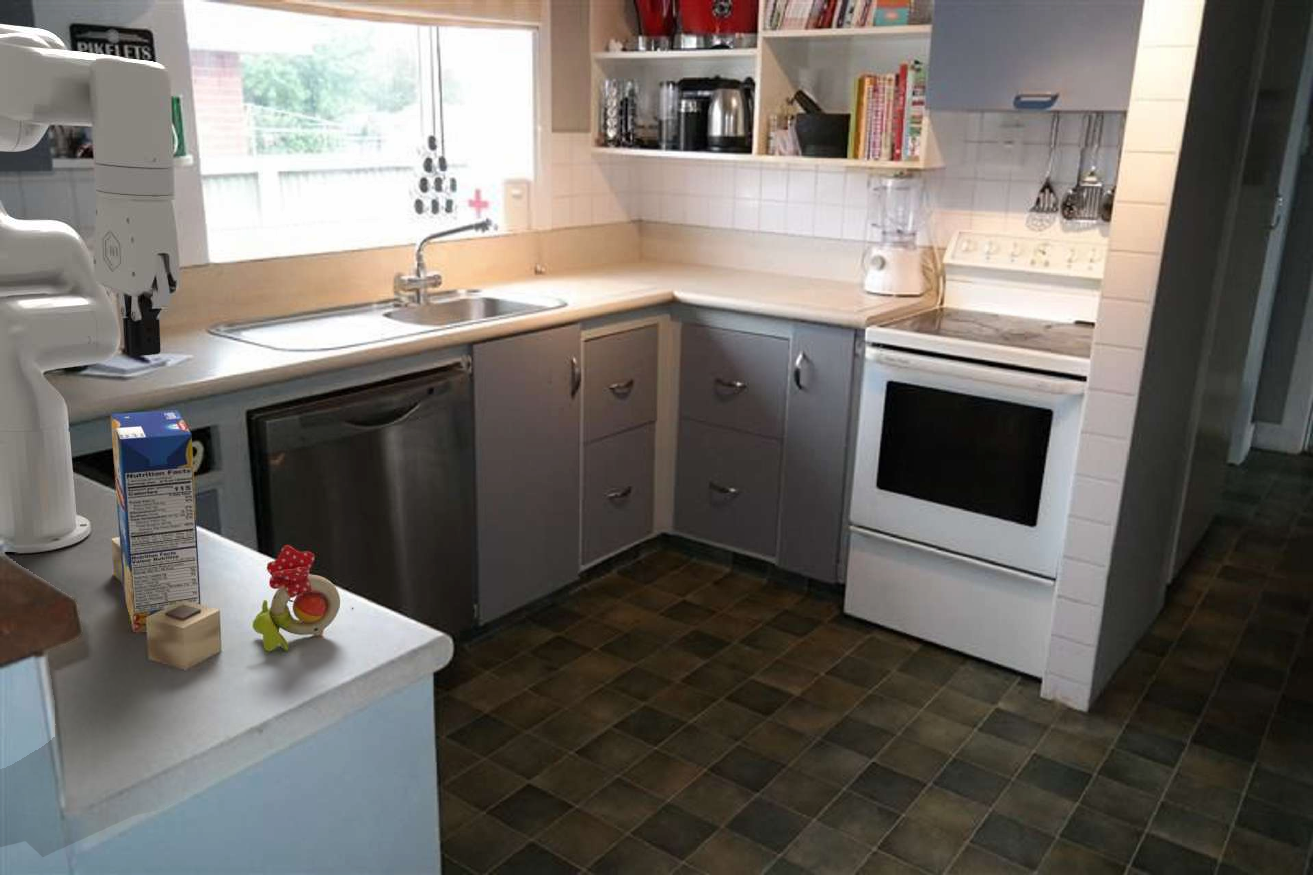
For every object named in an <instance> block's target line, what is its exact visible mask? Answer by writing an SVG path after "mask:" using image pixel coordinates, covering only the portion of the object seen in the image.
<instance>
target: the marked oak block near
mask: <svg viewBox="0 0 1313 875" xmlns="http://www.w3.org/2000/svg"><path fill="white" fill-rule="evenodd" d="M146 627H147V631H146V637H147V639H146V640H147V641H146V642H147V655H148V660H151V661H154V660H155V661H154V662H157V661H158V663H160V662H162V663H161V664H164V663H166V664H165V665H167V666H170V665H171V667H174V666H175V668H177V667H179V668H178V669H180V668H181V670H183V669H187V670H189V669H190V668H192V667H194V666H196V665H197V663H198V662H200V661H201V662H203V661H205V660H207V659H209V658H210V656H211V657H212V655H213V654H214V655H216V654H218V653H220V652H222V632H221V631H222V630H221V628H222V627H221V611H220V609H218V608H214V607H211V606H207V605H203V604H201V605H200V604H196V603H192V602H189V601H185V600H182V601H180V602H178V603H176V604H174V605H172V606H169V607H167V608H165V609H163V610H161V611H159V612H156V613H154V614H152V615H150V616H148V617H146ZM214 655H213V656H214ZM208 657H209V658H208ZM206 658H207V659H206ZM201 662H200V663H201ZM198 664H199V663H198ZM193 665H194V666H193Z"/></svg>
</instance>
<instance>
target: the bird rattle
mask: <svg viewBox="0 0 1313 875" xmlns="http://www.w3.org/2000/svg"><path fill="white" fill-rule="evenodd" d="M315 557H316V556H315V554H314V553H313V552H311V551H299V550H297V549H295V548H294V547H292V546H291V545H289V544H286V545H284V547H282V549H281V551H280V553H279V555H278V557H277V559H275V560H272V561H270V562H268V563H267V566H266V571H267V573H268V574H269V575H270V578H269V582H268V584H269V587H270V588H271V589H274V590H276V591H275V593H274V595H273V598H272V600H271V604H270V608H268V601H267V599H264V600H263V603H262V604H261V605H262V606H261V609H262V610H261V611H260V612H259V613H258V614H257V615H256V617H254V618H255V619H254V620H253V621H252V628H253V630H254V631H255V632H256V633H258V634H261V635H262V642H263V647H264V649H265V650H266V651H268V652H270V651H271V652H272V651H273V650H275V649H276V648H277V647H278V645H279V646H280V647H281V648H282V649H283V650H284V651H286V652H288V651H289V649H290V645H289V643H288V642H287V640H286V639H285V637H284V636H283V635H282V634H281V633H280V629H281V630H283V631H285V632H288V633H290V634H293V635H300V636H306V635H307V636H308V635H311V636H315V637H321V636H322V635H323V634H324V630H325V629H326V628H327V627H329V626H330V625H331V624H332V623H333V621H334V620H335V618H336V617H337V615H338V613H339V610H340V607H341V599H340V598H341V597H340V594H339V591H338V589H337V587H336V586H335V585H334V584H333V583H332V582H331V580H329V579H327V578H326V577H323V576H321V575H318V574H317V575H316V574H310V572H311V569H312V567H313V563H314V561H315ZM293 598H295V599H294V600H292V599H293ZM289 602H291V603H292V612H293V614H294V616H295V618H294V617H293V615H292V614H291V611H290V608H289V606H288V605H287V604H288V603H289Z"/></svg>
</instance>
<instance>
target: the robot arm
mask: <svg viewBox="0 0 1313 875" xmlns="http://www.w3.org/2000/svg"><path fill="white" fill-rule="evenodd" d="M51 125H52V126H69V127H70V126H74V127H76V126H77V127H90V128H91V130H92V131H91V132H92V154H93V169H94V170H93V171H94V173H93V176H94V187H95V188H94V189H95V192H94V193H95V201H94V210H93V211H94V212H93V223H92V224H93V227H92V228H93V229H92V230H93V231H92V233H93V234H92V235H93V237H92V240H93V241H92V243H93V244H92V250H93V254H92V255H93V257H92V256H91V253H90V251H89V249H88V248H87V244H86V242H85V241H84V240H83V238H82V237H81V235H80V234H79V233H78V232H77V231H76V230H75V229H74V228H73V227H71V226H70V225H69V224H67V223H64V222H62V221H59V220H55V219H54V220H51V219H16V218H14V217H11V216H10V215H9V213H7V211H6V209H5V206H4V205H3V203H2V200H1V199H0V535H3V536H4V537H5V539H7V540H8V541H10V542H11V543H13V545H14V546H15V551H16V552H17V553H16V554H34V553H42V552H48V551H54V550H58V549H62V548H66V547H68V546H72V545H75V544H77V543H79V542H81V541H83V540H85V539H86V537H88V536H89V535H90V533H91V531H92V530H91V529H92V528H91V527H92V526H91V522H90V521H89V519H87V518H86V517H84V516H82V515H79V514H77V508H76V496H75V495H76V494H75V483H74V470H73V460H72V459H73V458H72V448H71V446H72V445H71V435H70V434H71V433H70V425H69V424H70V423H69V414H68V406H67V403H66V400H65V399H64V397H63V396H62V394H61V393H60V392H59V391H58V390H57V389H56V387H55V386H54V385H52V384H51V383H50V382H49V380H47V379H46V378H45V376H44V373H45V372H48V371H55V370H57V369H65V368H73V367H82V366H87V365H88V366H89V365H94V364H99V363H100V364H101V363H103V362H105V361H108V360H110V359H112V358H113V357H114V356H115V355H116V354H117V352H118V351H119V348H120V344H121V329H120V323H119V320H118V317H117V314H116V311H115V309H114V307H113V306H114V305H113V304H112V301H111V299H110V297H109V295H108V292H107V290H106V288H108V289H110V291H111V292H112V293H113V294H114V295H116V296H117V298H118V302H119V312H120V315H121V317H122V326H123V344H124V346H123V347H124V348H123V349H124V353H125V354H127V355H130V356H132V357H134V358H135V357H136V358H138V357H147V356H153V355H159V354H161V333H160V332H161V330H160V328H161V327H160V320H161V319H162V313H163V311H162V310H163V309H165V308H170V307H171V306H172V299H171V294H174V293H176V292H177V291H178V290H179V287H180V279H181V277H180V254H179V253H180V252H179V239H178V231H177V223H176V217H175V209H174V204H173V201H174V200H175V199H176V196H175V195H176V194H175V168H174V167H175V165H174V163H175V162H174V142H173V141H174V139H173V138H174V137H173V109H172V82H171V77H170V73H169V71H168V70H167V68H166V67H165V66H164V65H163V64H160V63H158V62H154V61H149V60H143V59H142V60H141V59H133V58H125V57H121V56H117V55H110V54H109V55H108V54H98V53H91V52H90V53H89V52H86V51H85V52H83V51H75V50H68V48H67V46H66V44H64V42H63V41H62V40H61V39H60V38H59V37H57V35H55V34H54V33H52V32H51V31H48V30H45V29H42V28H36V27H30V26H20V25H11V24H3V23H0V152H7V153H8V152H9V153H10V152H14V153H15V152H24V151H27V150H30V149H32V148H34V147H35V146H37V144H38V143H39V142H40V141H41V140H42V138H43V136H44V135H45V133H46V132H47V130H48V128H49V127H50V126H51ZM105 287H106V288H105Z"/></svg>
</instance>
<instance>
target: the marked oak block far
mask: <svg viewBox="0 0 1313 875" xmlns="http://www.w3.org/2000/svg"><path fill="white" fill-rule="evenodd" d="M110 540H111V541H110V543H111V554H112V555H111V556H112V567H113V568H112V570H113V575H114V576H115V577H116V578H117V579H118V581H119V582H120V583H121V582H122V583H123V577H122V563H121V549H120V536H118V537H112V538H111V539H110ZM122 583H121V584H122Z"/></svg>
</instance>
